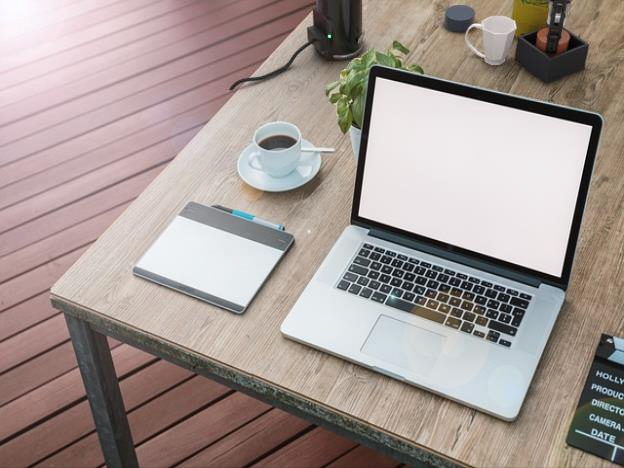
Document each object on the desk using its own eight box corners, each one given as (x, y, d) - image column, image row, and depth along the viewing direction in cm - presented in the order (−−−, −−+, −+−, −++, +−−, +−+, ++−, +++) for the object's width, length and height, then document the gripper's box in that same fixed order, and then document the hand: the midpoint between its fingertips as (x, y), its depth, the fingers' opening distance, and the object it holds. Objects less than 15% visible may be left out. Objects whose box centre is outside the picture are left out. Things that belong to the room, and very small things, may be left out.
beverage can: (540, 47, 173) (549, -6, 164) (501, 33, 177) (508, -19, 169) (561, 27, 178) (571, -25, 169) (523, 14, 182) (530, -37, 173)
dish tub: (545, 84, 164) (550, 60, 160) (514, 60, 170) (517, 36, 166) (584, 68, 167) (589, 44, 163) (551, 45, 173) (556, 21, 169)
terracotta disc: (566, 58, 163) (568, 46, 161) (533, 54, 164) (535, 42, 162) (568, 41, 167) (570, 29, 165) (536, 37, 169) (538, 25, 167)
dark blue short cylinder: (455, 34, 178) (456, 23, 176) (438, 21, 181) (439, 10, 179) (479, 26, 180) (480, 14, 178) (462, 13, 183) (463, 1, 181)
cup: (506, 72, 167) (511, 37, 162) (458, 61, 171) (461, 27, 165) (516, 53, 172) (521, 18, 166) (469, 43, 175) (472, 9, 169)
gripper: (549, -57, 159) (536, 21, 171) (542, -19, 149) (528, 61, 161) (590, -53, 157) (574, 26, 169) (586, -15, 147) (569, 66, 159)
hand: (552, 42), depth 165 cm, fingers closed on terracotta disc, 6 cm apart
